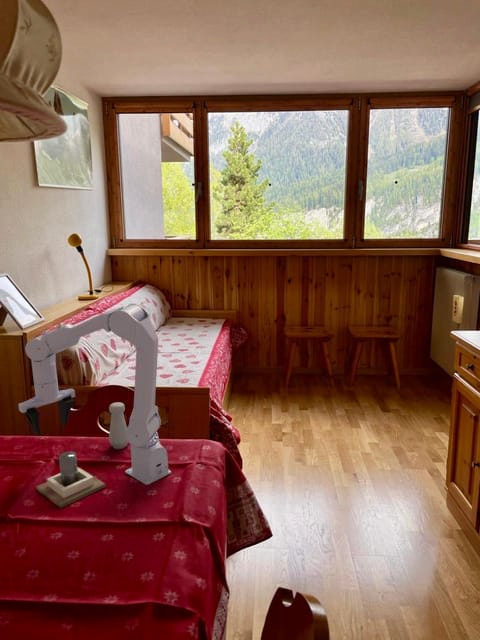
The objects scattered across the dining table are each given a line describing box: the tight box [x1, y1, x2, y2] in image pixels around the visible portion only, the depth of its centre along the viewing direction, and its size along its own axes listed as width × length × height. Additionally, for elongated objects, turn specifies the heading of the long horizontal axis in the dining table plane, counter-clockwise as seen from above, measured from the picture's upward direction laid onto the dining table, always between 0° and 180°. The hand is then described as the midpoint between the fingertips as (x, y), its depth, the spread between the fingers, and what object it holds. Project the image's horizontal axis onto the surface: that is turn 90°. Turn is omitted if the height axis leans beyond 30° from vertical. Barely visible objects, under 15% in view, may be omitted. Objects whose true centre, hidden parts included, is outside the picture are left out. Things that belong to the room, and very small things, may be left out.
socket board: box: [36, 466, 106, 509], centre depth 124 cm, size 12×12×3 cm
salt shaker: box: [108, 401, 129, 450], centre depth 145 cm, size 6×6×13 cm
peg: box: [58, 451, 79, 487], centre depth 123 cm, size 4×4×8 cm
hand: (51, 429), depth 133 cm, fingers open, 7 cm apart
